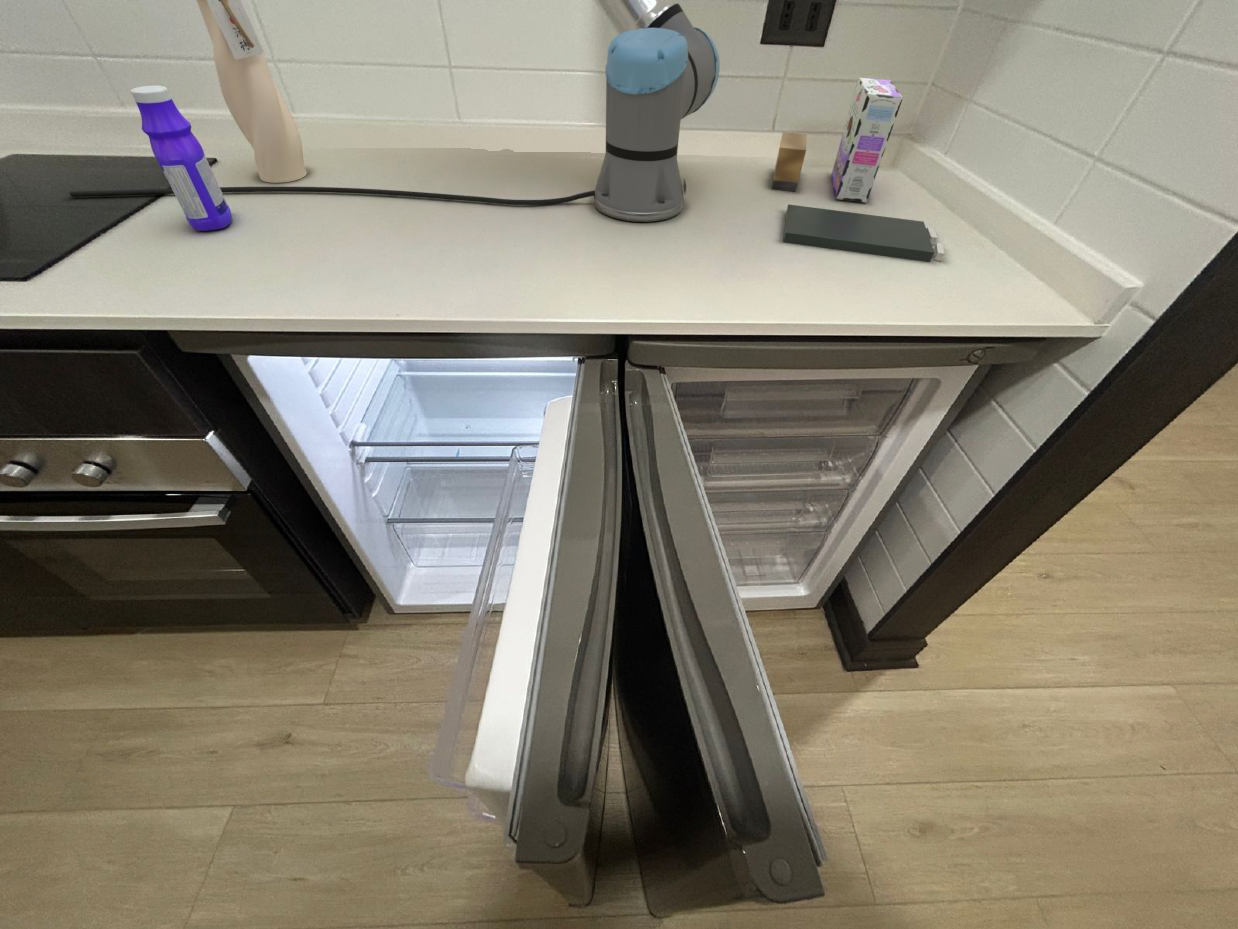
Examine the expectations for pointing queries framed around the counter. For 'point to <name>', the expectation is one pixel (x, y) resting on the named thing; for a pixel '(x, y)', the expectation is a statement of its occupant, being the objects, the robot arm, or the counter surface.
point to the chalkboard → (858, 232)
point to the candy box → (865, 138)
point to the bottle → (182, 159)
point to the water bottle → (253, 92)
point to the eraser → (789, 161)
